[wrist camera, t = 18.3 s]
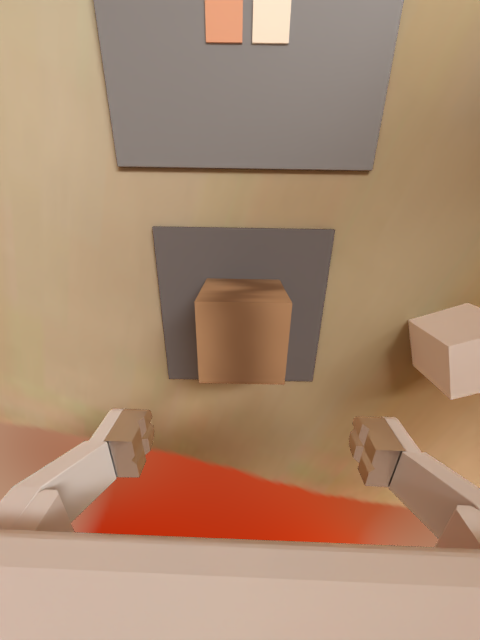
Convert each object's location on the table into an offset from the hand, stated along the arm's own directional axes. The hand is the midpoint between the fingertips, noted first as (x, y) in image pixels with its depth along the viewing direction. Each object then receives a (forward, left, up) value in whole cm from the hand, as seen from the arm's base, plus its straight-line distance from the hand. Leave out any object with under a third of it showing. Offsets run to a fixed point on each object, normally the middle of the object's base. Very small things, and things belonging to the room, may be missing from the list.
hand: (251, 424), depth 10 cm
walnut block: (0, 0, -13) cm, 13 cm away
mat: (0, 0, -13) cm, 13 cm away
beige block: (-18, +2, -13) cm, 22 cm away
